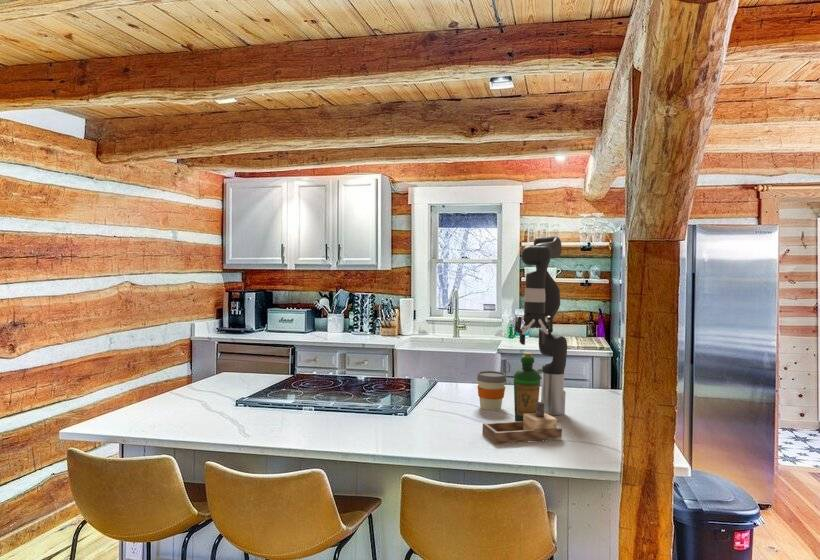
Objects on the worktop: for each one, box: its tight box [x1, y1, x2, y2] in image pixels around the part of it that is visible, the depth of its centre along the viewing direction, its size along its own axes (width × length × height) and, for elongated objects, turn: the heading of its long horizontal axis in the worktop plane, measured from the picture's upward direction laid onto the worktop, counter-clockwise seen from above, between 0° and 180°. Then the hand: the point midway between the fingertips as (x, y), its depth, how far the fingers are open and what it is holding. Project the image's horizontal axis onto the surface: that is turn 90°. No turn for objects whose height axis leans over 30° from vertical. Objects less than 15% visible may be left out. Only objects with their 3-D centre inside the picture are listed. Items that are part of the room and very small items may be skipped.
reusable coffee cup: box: [476, 370, 507, 412], centre depth 260 cm, size 13×13×15 cm
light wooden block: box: [523, 401, 558, 430], centre depth 221 cm, size 9×9×11 cm
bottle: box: [513, 351, 542, 422], centre depth 238 cm, size 11×11×28 cm
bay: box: [482, 420, 563, 445], centre depth 220 cm, size 26×12×4 cm, turn 105°
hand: (533, 344), depth 220 cm, fingers open, 8 cm apart
